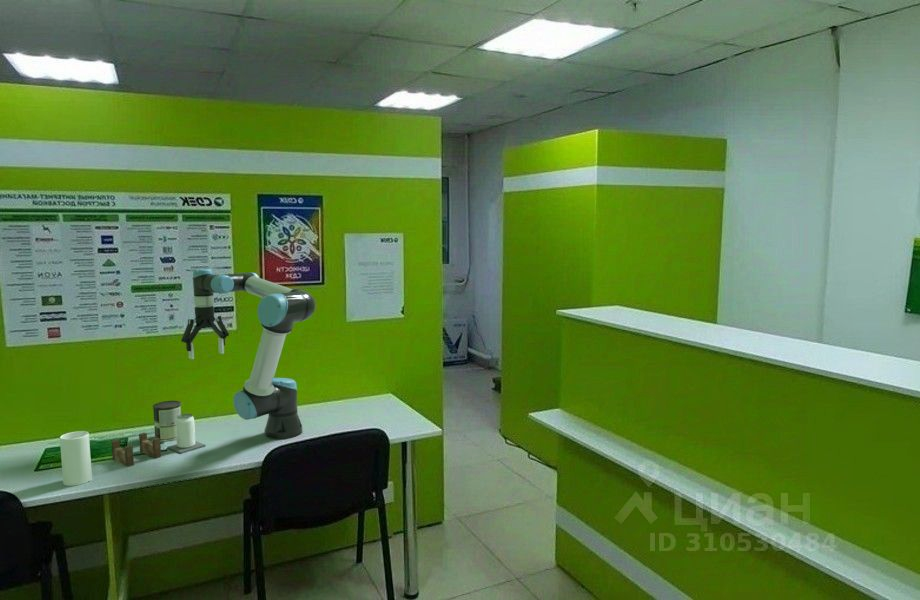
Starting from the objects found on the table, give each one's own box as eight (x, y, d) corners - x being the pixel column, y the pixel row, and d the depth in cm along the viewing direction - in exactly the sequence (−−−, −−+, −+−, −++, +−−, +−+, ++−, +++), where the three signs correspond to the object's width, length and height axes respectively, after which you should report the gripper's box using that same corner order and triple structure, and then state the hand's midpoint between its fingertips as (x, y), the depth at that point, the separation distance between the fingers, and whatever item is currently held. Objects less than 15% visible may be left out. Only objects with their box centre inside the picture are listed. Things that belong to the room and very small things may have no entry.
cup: (71, 476, 207) (68, 431, 206) (96, 475, 208) (93, 430, 206) (58, 486, 199) (54, 439, 198) (84, 485, 200) (80, 438, 198)
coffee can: (149, 440, 243) (146, 406, 242) (166, 432, 253) (164, 399, 252) (171, 442, 241) (169, 408, 239) (188, 434, 251) (186, 401, 250)
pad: (205, 446, 237) (205, 444, 236) (180, 453, 229) (180, 452, 228) (191, 441, 242) (191, 439, 242) (167, 448, 234) (167, 446, 234)
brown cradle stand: (161, 456, 226) (160, 438, 225) (128, 466, 216) (126, 447, 215) (145, 450, 233) (144, 432, 232) (112, 459, 223) (111, 441, 222)
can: (186, 442, 240) (184, 412, 238) (199, 443, 238) (197, 414, 236) (173, 447, 233) (171, 417, 232) (187, 449, 231) (185, 419, 230)
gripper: (226, 302, 264) (228, 350, 266) (170, 308, 244) (173, 359, 246) (236, 303, 259) (238, 352, 262) (180, 309, 240) (183, 362, 242)
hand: (206, 356), depth 254 cm, fingers open, 13 cm apart
